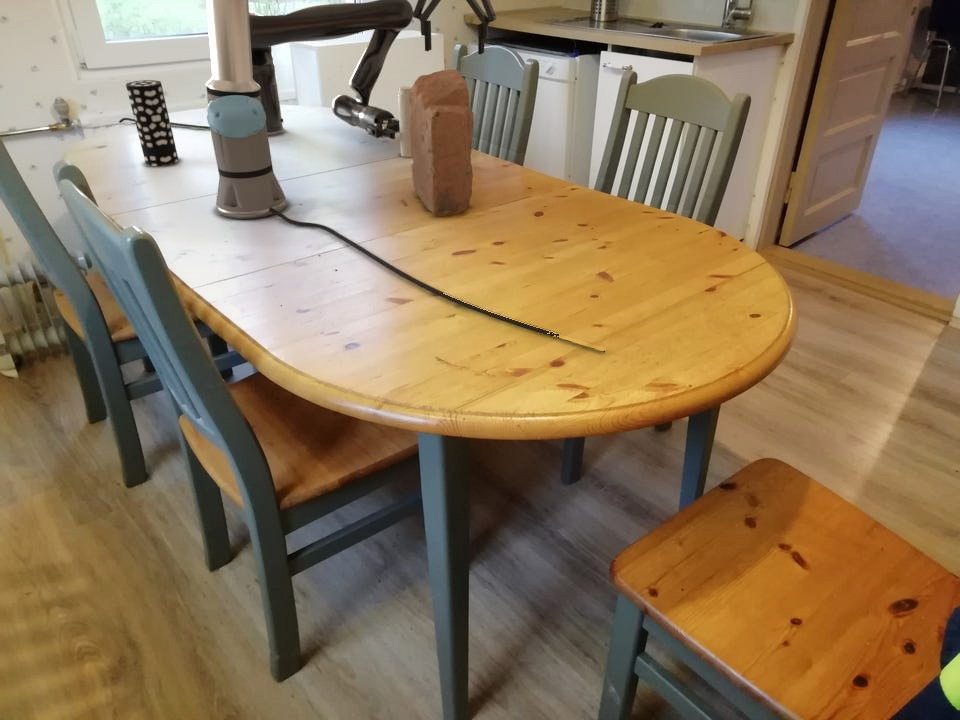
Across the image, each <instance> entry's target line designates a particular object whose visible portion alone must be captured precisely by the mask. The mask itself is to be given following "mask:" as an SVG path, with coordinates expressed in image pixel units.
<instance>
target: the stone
mask: <svg viewBox="0 0 960 720" xmlns="http://www.w3.org/2000/svg"><path fill="white" fill-rule="evenodd" d="M409 99H410V104H411V116H410V143H411V155H412V157H411V158H412V163H411V175H412V183H413V187H414V190H415V192H416V194H417V195H418V197H419V199H420V200H421V201H422V203H423V205H424V206H425V208H426V209H427V210H428V211H430V212H431V214H432V215H433V216H436V217H443V216H448V215H449V216H450V215H459V214H460V213H462V212H464V210H465V209H467V208H469V207H470V203H471V198H472V196H473V177H474V174H473V166H472V157H471V156H472V148H473V147H472V146H473V133H474V124H475V123H474V122H475V120H474V119H475V118H474V111H472V110H471V107H470V94H469V88H468V84H467V81H466V79H465V78H464V77H463V74H462V73H460V70H457V69H442V70H439V71H435V72H432V73H429V74H422V75H420V76H418V77H417V78H416V80H415V81H414V83H413V85H412V87H411V91H410V94H409Z"/></svg>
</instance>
